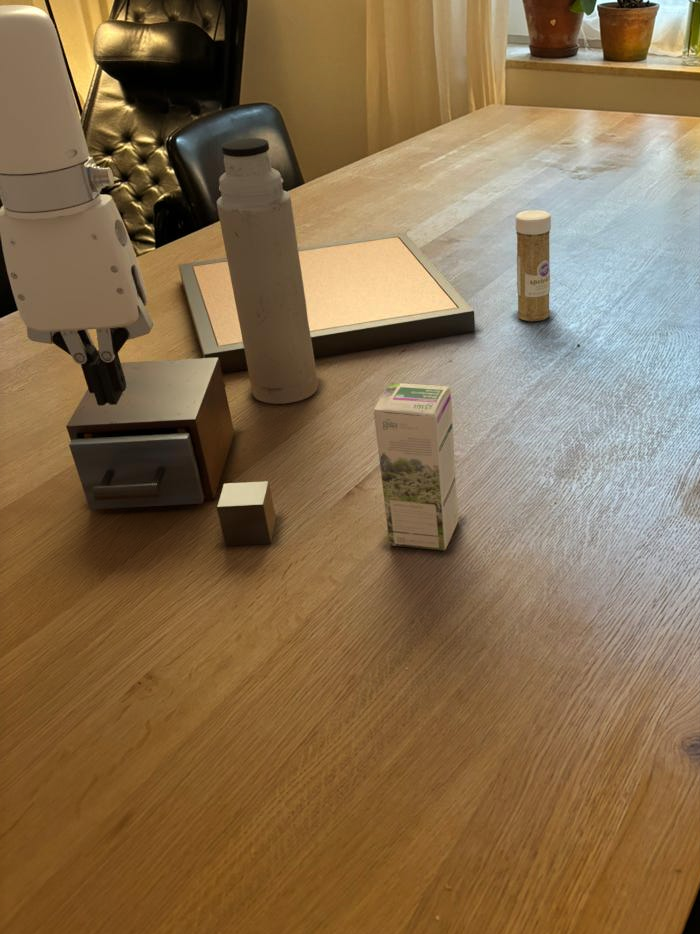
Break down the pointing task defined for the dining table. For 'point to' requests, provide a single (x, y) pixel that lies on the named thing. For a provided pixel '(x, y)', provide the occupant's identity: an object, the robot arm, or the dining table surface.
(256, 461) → the dining table surface
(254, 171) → the thermos bottle
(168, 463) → the drawer
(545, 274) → the sprinkles bottle
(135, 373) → the cabinet
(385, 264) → the cork board
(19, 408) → the dining table surface
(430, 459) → the syrup box
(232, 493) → the block
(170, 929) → the dining table surface
